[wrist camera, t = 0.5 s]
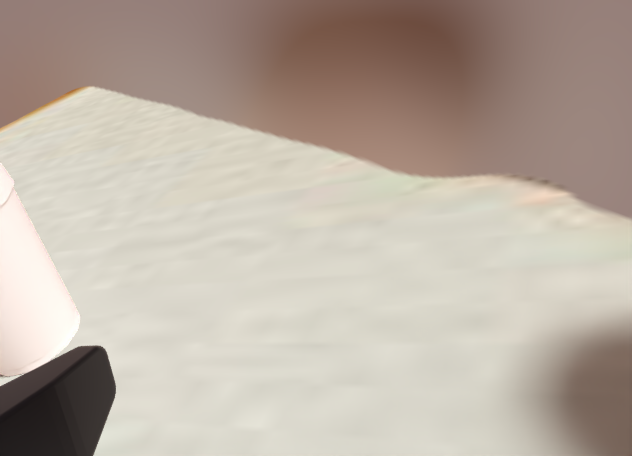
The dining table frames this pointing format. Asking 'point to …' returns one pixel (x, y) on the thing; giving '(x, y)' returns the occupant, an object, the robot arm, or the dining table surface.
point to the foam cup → (29, 292)
